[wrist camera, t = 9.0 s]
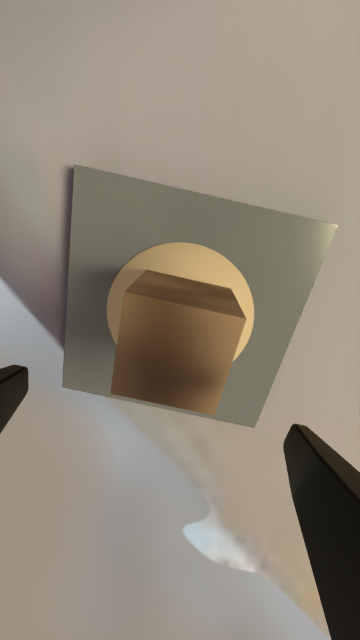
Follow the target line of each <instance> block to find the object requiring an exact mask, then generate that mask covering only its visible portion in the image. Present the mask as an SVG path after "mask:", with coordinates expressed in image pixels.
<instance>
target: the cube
mask: <svg viewBox="0 0 360 640" xmlns="http://www.w3.org/2000/svg"><path fill="white" fill-rule="evenodd" d="M245 322H246V317H245V315H244V313H243V311H242V309H241V307H240V305H239V303H238V301H237V299H236V297H235V295H234V293H233V291H232V289H231V288H227V287H222V286H218V285H213V284H209V283H204V282H200V281H195V280H191V279H186V278H182V277H177V276H173V275H168V274H164V273H159V272H155V271H150V270H146V271H145V272H144V273H143V274H142V275H141V276H140V277H139V278H138V279H137V280H136V281H134V282H133V283H132V284H131V285H130V286H129V287H128V288H127V289H126V290H125V291H124V296H123V303H122V310H121V318H120V325H119V332H118V340H117V347H116V354H115V362H114V369H113V376H112V384H111V391H110V394H114V395H119V396H124V397H128V398H133V399H138V400H142V401H147V402H152V403H157V404H161V405H166V406H171V407H175V408H180V409H185V410H190V411H194V412H199V413H204V414H208V415H213V416H215V413H216V410H217V407H218V404H219V401H220V398H221V395H222V392H223V389H224V386H225V383H226V380H227V377H228V374H229V371H230V368H231V365H232V362H233V359H234V355H235V352H236V349H237V346H238V343H239V340H240V337H241V334H242V331H243V328H244V325H245Z"/></svg>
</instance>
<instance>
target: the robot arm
mask: <svg viewBox="0 0 360 640" xmlns="http://www.w3.org/2000/svg"><path fill="white" fill-rule="evenodd" d="M27 391H28V369H27V368H26V367H23V366H19V365H11V366H8V367H5V368H1V369H0V433H1V432H2V430H3V429H4V427H5V426H6V424H7V423H8V421H9V420H10V418H11V417H12V415H13V413H14V412H15V411H16V409H17V407H18V406H19V405H20V403H21V401H22V400H23V399H24V397H25V396H26V394H27ZM283 447H284V454H285V460H286V466H287V471H288V477H289V483H290V489H291V493H292V498H293V502H294V506H295V509H296V513H297V517H298V520H299V524H300V527H301V531H302V535H303V538H304V542H305V546H306V549H307V553H308V556H309V560H310V564H311V567H312V571H313V575H314V578H315V582H316V585H317V589H318V593H319V596H320V600H321V604H322V607H323V611H324V614H325V618H326V622H327V625H328V629H329V633H330V636H331V640H360V472H359V471H358V470H356V469H355V468H354V467H353V466H352V465H351V464H349V463H348V462H347V461H346V460H345V459H344V458H343V457H341V456H340V455H339V454H338V453H337V452H336V451H335V450H333V449H332V448H331V447H330V446H329V445H328V444H326V443H325V442H324V441H323V440H322V439H321V438H320V437H318V436H317V435H316V434H315V433H314V432H313V431H311V430H310V429H309V428H308V427H307V426H304V425H299V424H293V425H292V426H291V428H290V430H289V432H288V434H287V436H286V439H285V441H284V446H283Z"/></svg>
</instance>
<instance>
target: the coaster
mask: <svg viewBox="0 0 360 640" xmlns="http://www.w3.org/2000/svg"><path fill="white" fill-rule="evenodd" d="M336 228H337V225H335V224H330V223H326V222H322V221H317V220H313V219H309V218H304V217H300V216H296V215H291V214H287V213H283V212H278V211H274V210H270V209H265V208H261V207H257V206H252V205H248V204H244V203H239V202H235V201H231V200H226V199H222V198H218V197H213V196H209V195H205V194H200V193H196V192H192V191H187V190H183V189H179V188H174V187H170V186H166V185H161V184H157V183H153V182H148V181H144V180H140V179H135V178H131V177H127V176H122V175H118V174H114V173H109V172H105V171H101V170H96V169H92V168H88V167H83V166H79V165H75V164H74V180H73V198H72V217H71V235H70V254H69V272H68V290H67V309H66V327H65V346H64V364H63V384H62V387H64V388H69V389H73V390H78V391H83V392H87V393H92V394H97V395H102V396H106V397H111V398H116V399H120V400H125V401H130V402H135V403H139V404H144V405H149V406H153V407H158V408H163V409H168V410H172V411H177V412H182V413H186V414H191V415H196V416H201V417H205V418H210V419H215V420H219V421H224V422H229V423H234V424H238V425H243V426H248V427H253V428H255V425H256V423H257V420H258V418H259V416H260V413H261V411H262V408H263V406H264V403H265V401H266V398H267V396H268V394H269V391H270V389H271V386H272V384H273V381H274V379H275V377H276V374H277V372H278V369H279V367H280V364H281V362H282V359H283V357H284V355H285V352H286V350H287V347H288V345H289V342H290V340H291V337H292V335H293V333H294V330H295V328H296V325H297V323H298V320H299V318H300V316H301V313H302V311H303V308H304V306H305V303H306V301H307V298H308V296H309V294H310V291H311V289H312V286H313V284H314V281H315V279H316V277H317V274H318V272H319V269H320V267H321V264H322V262H323V259H324V257H325V255H326V252H327V250H328V247H329V245H330V242H331V240H332V237H333V235H334V233H335V230H336ZM146 270H150V271H155V272H159V273H164V274H168V275H173V276H177V277H182V278H186V279H191V280H195V281H200V282H204V283H209V284H213V285H218V286H222V287H227V288H231V289H232V291H233V293H234V295H235V297H236V299H237V301H238V303H239V305H240V307H241V309H242V311H243V313H244V315H245V317H246V322H245V325H244V328H243V331H242V334H241V337H240V340H239V343H238V346H237V349H236V352H235V355H234V359H233V362H232V365H231V368H230V371H229V374H228V377H227V380H226V383H225V386H224V389H223V392H222V395H221V398H220V401H219V404H218V407H217V410H216V413H215V416H213V415H208V414H204V413H199V412H194V411H190V410H185V409H180V408H175V407H171V406H166V405H161V404H157V403H152V402H147V401H142V400H138V399H133V398H128V397H124V396H119V395H114V394H110V391H111V384H112V376H113V369H114V362H115V354H116V347H117V340H118V332H119V325H120V318H121V310H122V303H123V296H124V291H125V290H126V289H127V288H128V287H129V286H130V285H131V284H132V283H133V282H134V281H136V280H137V279H138V278H139V277H140V276H141V275H142V274H143V273H144V272H145V271H146Z"/></svg>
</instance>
